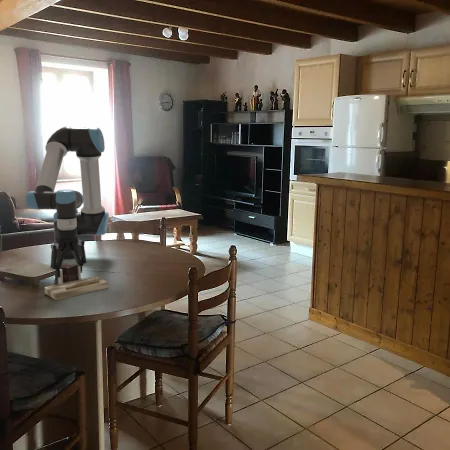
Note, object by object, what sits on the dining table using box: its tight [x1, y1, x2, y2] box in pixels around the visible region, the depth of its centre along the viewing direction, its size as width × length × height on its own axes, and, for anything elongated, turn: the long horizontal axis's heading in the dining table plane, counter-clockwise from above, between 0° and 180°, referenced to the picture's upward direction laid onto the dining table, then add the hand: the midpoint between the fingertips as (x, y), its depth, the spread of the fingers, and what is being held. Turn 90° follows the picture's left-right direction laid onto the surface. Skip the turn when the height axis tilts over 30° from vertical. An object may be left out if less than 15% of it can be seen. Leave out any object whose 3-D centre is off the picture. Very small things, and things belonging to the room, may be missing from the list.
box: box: [56, 262, 78, 284], centre depth 196 cm, size 6×6×7 cm
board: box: [44, 275, 109, 301], centre depth 189 cm, size 10×22×3 cm, turn 134°
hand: (69, 282), depth 196 cm, fingers closed on box, 7 cm apart
